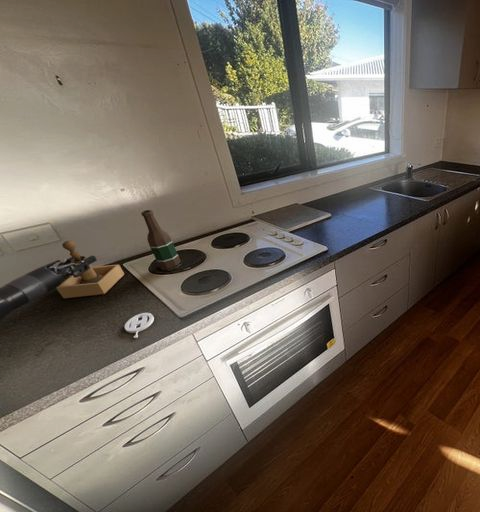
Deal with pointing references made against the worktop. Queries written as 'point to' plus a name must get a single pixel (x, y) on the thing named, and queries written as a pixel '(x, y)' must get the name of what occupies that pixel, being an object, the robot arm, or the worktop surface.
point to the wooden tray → (76, 289)
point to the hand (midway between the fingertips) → (87, 257)
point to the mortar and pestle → (86, 276)
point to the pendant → (139, 323)
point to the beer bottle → (160, 243)
